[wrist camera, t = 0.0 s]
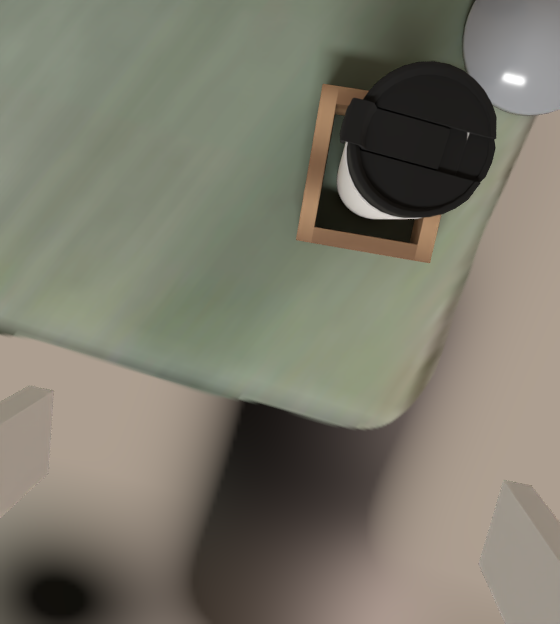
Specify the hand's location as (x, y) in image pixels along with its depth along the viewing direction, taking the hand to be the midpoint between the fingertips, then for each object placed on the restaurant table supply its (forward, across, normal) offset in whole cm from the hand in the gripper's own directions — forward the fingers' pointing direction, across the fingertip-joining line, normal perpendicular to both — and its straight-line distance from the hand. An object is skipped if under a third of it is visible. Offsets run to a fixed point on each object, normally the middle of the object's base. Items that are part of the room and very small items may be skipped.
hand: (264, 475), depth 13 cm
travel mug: (+28, +4, +11) cm, 31 cm away
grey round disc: (+28, +14, +23) cm, 39 cm away
